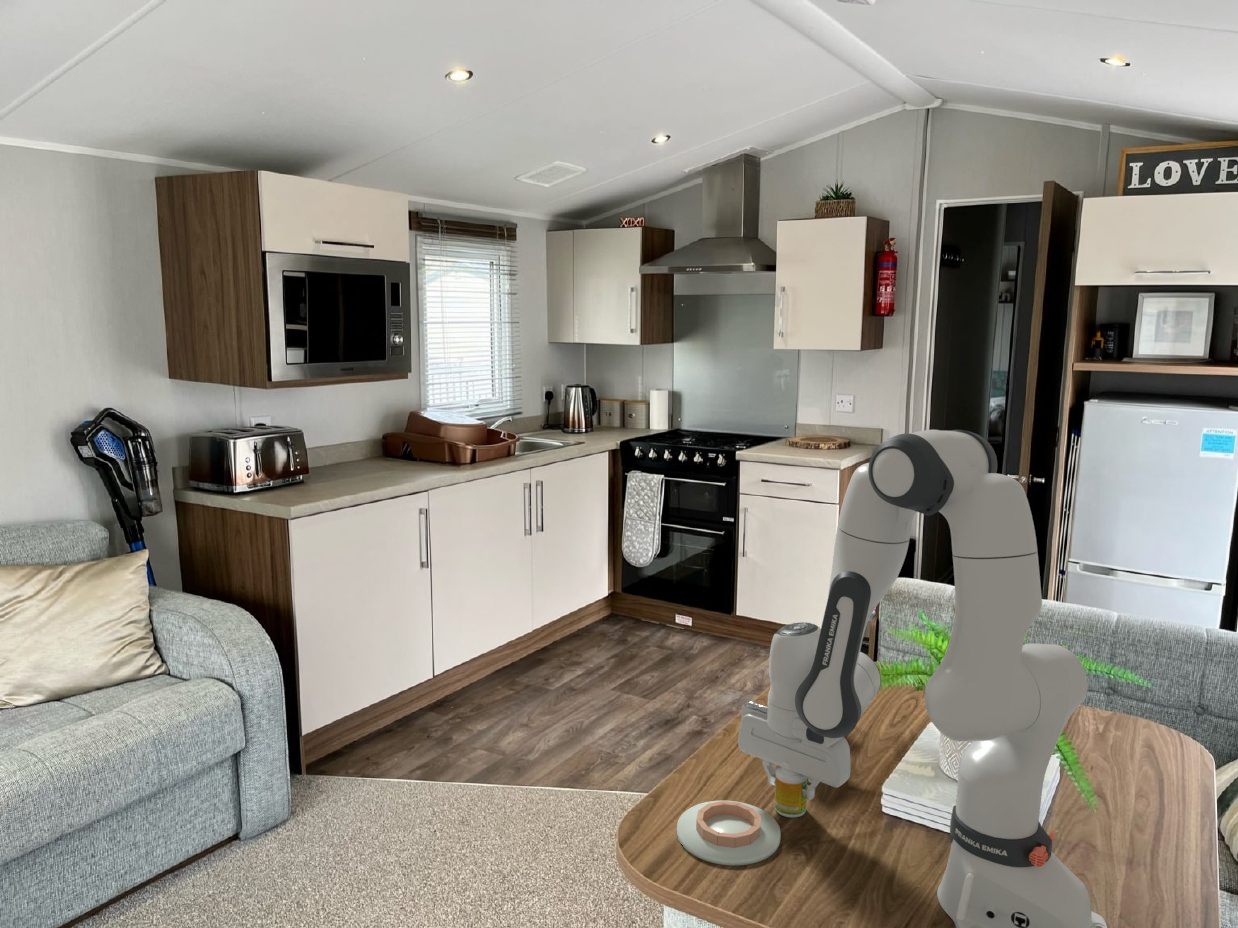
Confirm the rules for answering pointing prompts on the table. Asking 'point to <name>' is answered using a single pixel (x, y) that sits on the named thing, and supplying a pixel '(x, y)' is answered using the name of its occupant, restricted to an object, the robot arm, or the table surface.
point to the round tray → (731, 828)
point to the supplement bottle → (789, 791)
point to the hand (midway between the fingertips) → (790, 790)
